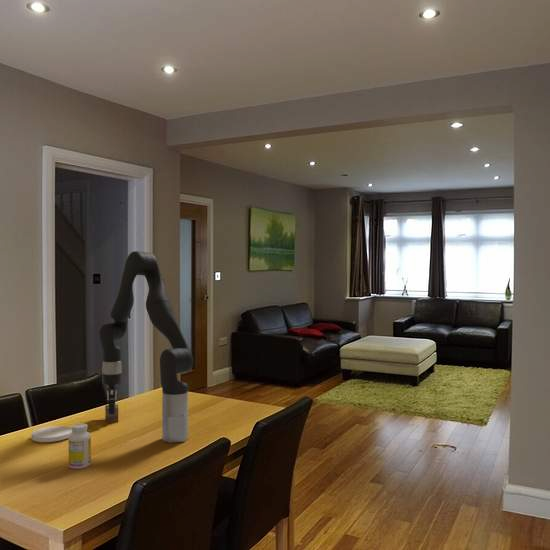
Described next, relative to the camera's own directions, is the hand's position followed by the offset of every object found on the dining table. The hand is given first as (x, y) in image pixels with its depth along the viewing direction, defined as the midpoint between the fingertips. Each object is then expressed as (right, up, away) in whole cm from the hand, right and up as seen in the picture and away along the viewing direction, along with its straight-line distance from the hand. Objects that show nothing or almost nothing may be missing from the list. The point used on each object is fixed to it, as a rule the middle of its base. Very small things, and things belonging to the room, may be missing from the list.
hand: (111, 411), depth 218 cm
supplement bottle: (+5, -5, -49) cm, 50 cm away
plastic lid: (-15, -5, -22) cm, 27 cm away
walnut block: (0, -4, 0) cm, 4 cm away
